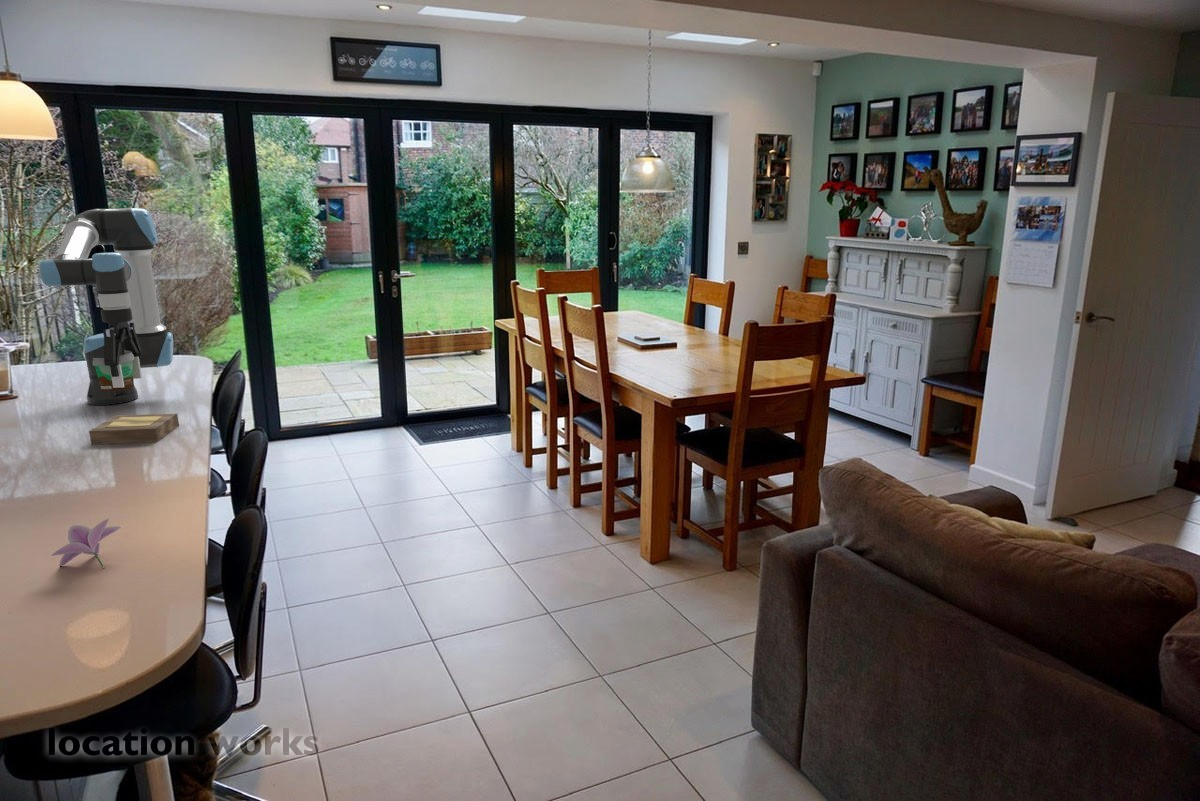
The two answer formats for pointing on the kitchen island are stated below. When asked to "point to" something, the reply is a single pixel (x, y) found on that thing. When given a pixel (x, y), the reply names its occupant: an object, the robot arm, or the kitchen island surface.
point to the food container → (105, 373)
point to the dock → (134, 428)
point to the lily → (84, 541)
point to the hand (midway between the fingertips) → (128, 382)
